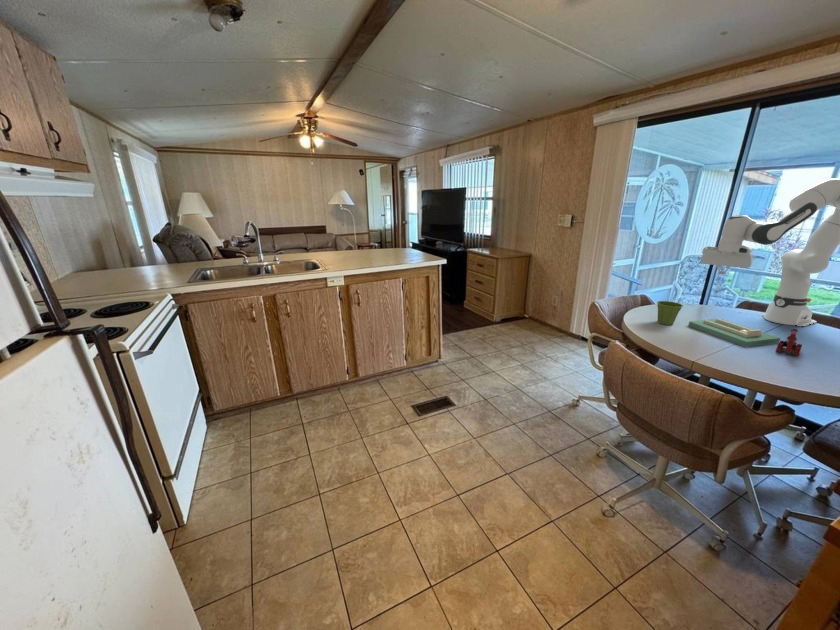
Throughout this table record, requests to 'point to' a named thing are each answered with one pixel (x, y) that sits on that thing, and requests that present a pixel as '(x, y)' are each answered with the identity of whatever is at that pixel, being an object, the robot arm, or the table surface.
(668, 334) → the table surface
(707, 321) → the putting mat
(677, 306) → the plant pot
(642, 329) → the table surface
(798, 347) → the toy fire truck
